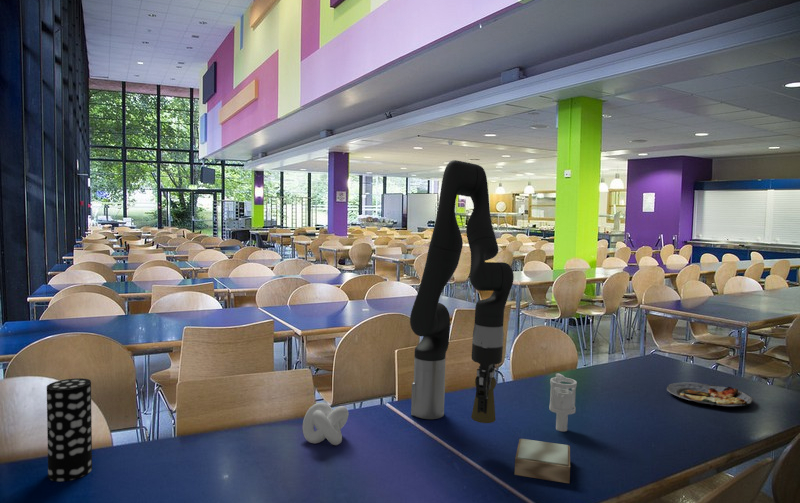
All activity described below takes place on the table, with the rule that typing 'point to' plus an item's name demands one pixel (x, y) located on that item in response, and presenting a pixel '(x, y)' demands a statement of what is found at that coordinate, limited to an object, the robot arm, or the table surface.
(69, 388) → the white-spotted black cylinder
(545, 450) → the base block
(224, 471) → the table surface
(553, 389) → the grey mechanical part
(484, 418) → the cork
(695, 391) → the food plate
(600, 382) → the table surface
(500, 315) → the robot arm
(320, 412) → the grey torus knot
